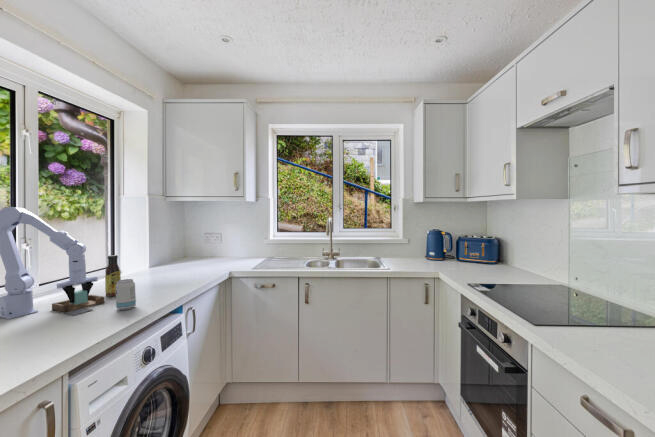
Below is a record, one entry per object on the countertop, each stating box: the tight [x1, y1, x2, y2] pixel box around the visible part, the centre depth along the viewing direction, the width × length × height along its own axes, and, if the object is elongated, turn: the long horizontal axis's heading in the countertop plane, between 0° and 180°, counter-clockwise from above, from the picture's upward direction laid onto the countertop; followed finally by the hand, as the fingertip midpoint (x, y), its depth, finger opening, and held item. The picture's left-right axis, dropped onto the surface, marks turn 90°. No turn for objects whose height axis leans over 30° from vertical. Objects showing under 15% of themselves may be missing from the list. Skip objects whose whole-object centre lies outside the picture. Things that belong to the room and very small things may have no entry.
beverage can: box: [115, 278, 137, 311], centre depth 131 cm, size 7×7×12 cm
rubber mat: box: [63, 307, 94, 317], centre depth 127 cm, size 7×7×1 cm
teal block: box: [70, 289, 88, 305], centre depth 135 cm, size 4×4×5 cm
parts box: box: [51, 294, 105, 314], centre depth 135 cm, size 15×10×3 cm, turn 155°
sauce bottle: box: [104, 254, 122, 297], centre depth 152 cm, size 7×6×20 cm
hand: (78, 300), depth 135 cm, fingers closed on teal block, 4 cm apart
